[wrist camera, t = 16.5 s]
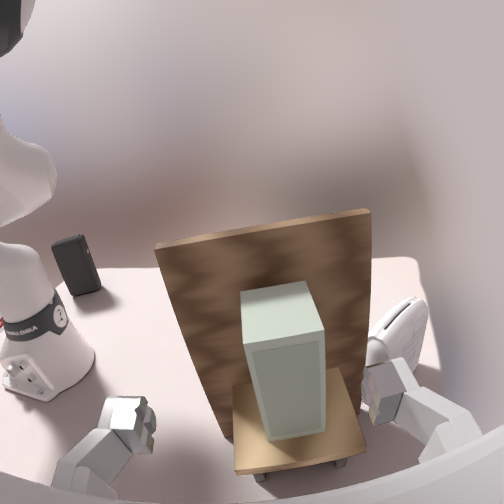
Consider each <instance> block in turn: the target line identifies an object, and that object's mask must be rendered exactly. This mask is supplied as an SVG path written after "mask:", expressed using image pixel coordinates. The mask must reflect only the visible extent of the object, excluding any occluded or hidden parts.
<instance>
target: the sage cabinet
mask: <svg viewBox="0 0 504 504" xmlns="http://www.w3.org/2000/svg"><path fill="white" fill-rule="evenodd" d="M240 299H241V318H242V336H243V346H244V350H245V354H246V358H247V363H248V367H249V371H250V375H251V379H252V383H253V387H254V390H255V394H256V398H257V402H258V406H259V410H260V414H261V418H262V422H263V425H264V429H265V433H266V437H267V440H268V442H271V441H277V440H284V439H290V438H295V437H301V436H306V435H311V434H316V433H321V432H325V427H326V373H325V333H324V327H323V325H322V322H321V319H320V317H319V314H318V312H317V309H316V306H315V304H314V301H313V299H312V296H311V294H310V291H309V289H308V286H307V284H306V281H299V282H294V283H288V284H282V285H277V286H271V287H265V288H259V289H253V290H247V291H241V292H240Z"/></svg>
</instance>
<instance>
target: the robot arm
mask: <svg viewBox="0 0 504 504" xmlns="http://www.w3.org/2000/svg"><path fill="white" fill-rule="evenodd" d="M34 4H35V0H0V57H2V56H4V55H5V54H7V53H8V52H10V51H11V50H12V49H13V47H14V46H15V45H16V44H17V43H18V42H19V41H20V40H21V38H22V37H23V31H24V29H25V27H26V25H27V23H28V21H29V19H30V17H31V13H32V11H33V8H34ZM56 182H57V172H56V167H55V163H54V161H53V159H52V157H51V156H50V154H49V153H48V152H47V151H46V150H45V149H44V148H43V147H41V146H40V145H38V144H32V143H28V142H25V141H22V140H20V139H18V138H16V137H15V136H14V135H12V134H11V133H10V132H9V131H8V130H7V128H6V127H5V126H4V124H3V122H2V119H1V116H0V227H3V226H5V225H7V224H8V223H11V222H13V221H15V220H17V219H19V218H21V217H23V216H26V215H28V214H30V213H31V212H33V211H34V210H35V209H37V208H38V207H40V206H41V205H43V204H44V203H45V202H47V201H48V200H50V199H51V198H52V196H53V193H54V191H55V187H56ZM0 313H1V315H2V318H1V319H0V322H1V324H0V328H1V327H2V325H4V329H5V333H6V338H5V341H4V343H3V346H2V349H1V352H0V362H1V364H2V366H3V368H4V369H5V373H4V376H3V381H2V384H3V386H4V387H5V388H6V389H9V390H12V391H14V392H17V393H20V394H23V395H26V396H29V397H32V398H35V399H38V400H41V401H44V402H48V401H50V400H51V399H53V398H54V397H55V396H56V395H57V394H58V393H60V392H61V391H63V390H65V389H67V388H69V387H71V386H73V385H74V384H76V383H77V382H78V381H80V380H81V379H82V378H83V377H84V376H85V375H86V374H87V372H88V371H89V370H90V368H91V366H92V364H93V361H94V350H93V348H92V347H91V346H90V345H89V344H88V343H87V342H86V341H85V340H84V338H83V337H82V335H81V334H80V333H79V332H78V331H77V329H76V328H75V326H74V325H73V324H72V322H71V321H70V319H69V318H68V316H67V314H66V311H65V308H64V305H63V303H62V301H61V299H60V296H59V294H58V293H57V291H56V290H55V289H54V288H53V287H52V285H51V283H50V280H49V278H48V276H47V274H46V271H45V269H44V267H43V264H42V262H41V259H40V257H39V255H38V253H37V252H36V251H35V250H33V249H32V248H31V247H28V246H25V245H19V244H5V243H2V242H0ZM363 375H364V377H365V378H364V379H363V380H362V382H361V392H362V397H363V400H364V403H365V404H366V405H368V406H369V411H368V413H369V416H370V419H371V421H372V424H373V426H376V425H380V424H383V423H387V422H391V421H394V422H395V423H396V424H398V425H399V426H400V427H402V428H403V429H404V430H406V431H407V432H408V433H409V434H411V435H412V436H413V437H415V438H416V439H417V440H419V441H420V442H421V443H423V444H424V445H425V448H424V450H423V451H422V453H421V455H420V456H419V458H418V460H419V463H420V464H418V465H415V466H413V467H410V468H407V469H404V470H401V471H398V472H395V473H392V474H389V475H386V476H383V477H380V478H376V479H373V480H369V481H366V482H362V483H359V484H355V485H351V486H347V487H343V488H338V489H334V490H329V491H325V492H320V493H315V494H309V495H303V496H297V497H291V498H284V499H277V500H269V501H259V502H248V503H234V504H504V424H503V425H501V426H500V427H498V428H496V429H494V430H492V431H490V432H488V433H487V434H485V435H483V434H482V432H481V430H480V428H479V427H478V425H477V423H476V421H475V420H474V418H473V416H472V414H471V413H470V411H469V410H466V409H465V408H463V407H461V406H459V405H457V404H455V403H453V402H452V401H450V400H448V399H446V398H444V397H443V396H441V395H439V394H437V393H435V392H433V391H431V390H430V389H428V388H426V387H424V386H422V387H420V386H419V384H418V382H417V380H416V379H415V377H414V375H413V373H412V372H411V370H410V368H409V366H408V364H407V363H406V361H405V359H404V358H403V357H399V358H396V359H392V360H387V361H384V362H380V363H376V364H373V365H369V366H365V367H364V369H363ZM147 404H148V401H147V400H146V398H145V397H144V396H108V397H107V398H106V399H105V403H104V406H103V409H102V412H101V416H100V419H99V423H98V426H97V429H96V428H94V429H93V430H92V431H90V432H89V433H88V434H87V435H86V436H85V437H84V438H83V439H82V440H81V441H80V442H79V443H78V444H77V445H75V446H74V447H73V448H72V449H71V450H70V451H69V452H68V453H67V454H66V455H65V456H64V457H62V458H61V459H60V460H59V461H58V464H57V467H56V471H55V474H54V477H53V481H52V485H51V487H50V486H46V485H43V484H39V483H36V482H32V481H29V480H25V479H22V478H19V477H16V476H13V475H10V474H7V473H4V472H2V471H0V504H159V503H145V502H135V501H126V500H118V499H119V494H118V493H117V492H116V491H115V490H114V489H113V488H111V487H110V486H109V485H110V483H111V482H112V481H113V480H114V478H115V477H116V476H117V474H118V473H119V472H120V471H121V469H122V468H123V467H124V465H125V464H126V463H127V462H128V460H129V459H130V458H131V456H132V455H133V454H152V451H153V444H154V439H153V437H152V436H151V435H152V434H153V433H154V432H155V431H156V417H155V414H154V411H153V410H152V408H150V407H148V406H147Z"/></svg>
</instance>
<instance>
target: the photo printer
mask: <svg viewBox="0 0 504 504" xmlns="http://www.w3.org/2000/svg"><path fill="white" fill-rule="evenodd" d="M427 319H428V308H427V305H426V303H425V302H424V301H423V300H422V299H417V298H416V297H411V298H408V299H405V300H403V301H402V302H400V303H398V304H397V305H396V306H394V307H393V308H392V309H391V310H390V311H389V312H387V313H386V314H385V315H384V316H383V317H382V318H381V319H380V321H379V322H378V323H377V324H376V325H375V326H374V327H373V329H372V330H371V331H370V333H369V334H368V343H367V354H366V365H365V366H369V365H373V364H376V363H380V362H384V361H387V360H392V359H396V358H399V357H403V358H404V359H405V361H406V363H407V364H408V366H409V368H410V370H411V372H412V373H413V372H414V370H415V368H416V366H417V364H418V361H419V356H420V352H421V348H422V343H423V339H424V334H425V329H426V324H427ZM364 378H365V377H364ZM362 399H363V397H362ZM363 401H364V400H363Z"/></svg>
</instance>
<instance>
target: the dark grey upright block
mask: <svg viewBox="0 0 504 504" xmlns="http://www.w3.org/2000/svg"><path fill="white" fill-rule="evenodd" d="M51 248H52V252H53V254H54V257H55V259H56V262H57V264H58V267H59V269H60V272H61V274H62V277H63V279H64V281H65V283H66V285H67V288H68V290H69V292H70V294H71V295H72V296H73V295H74V296H77V295H81V294H85V293H90V292H94V291H97V290H98V289H100V287H101V281H100V279H99V276H98V273H97V270H96V268H95V265H94V262H93V259H92V257H91V254H90V251H89V249H88V246H87V243H86V240H85V237H84V236H83V235H80V234H79V235H76V236H73V237H69V238H66V239H63V240H60V241H56V242H55V243H54V244H53V245H52V246H51Z"/></svg>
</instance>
